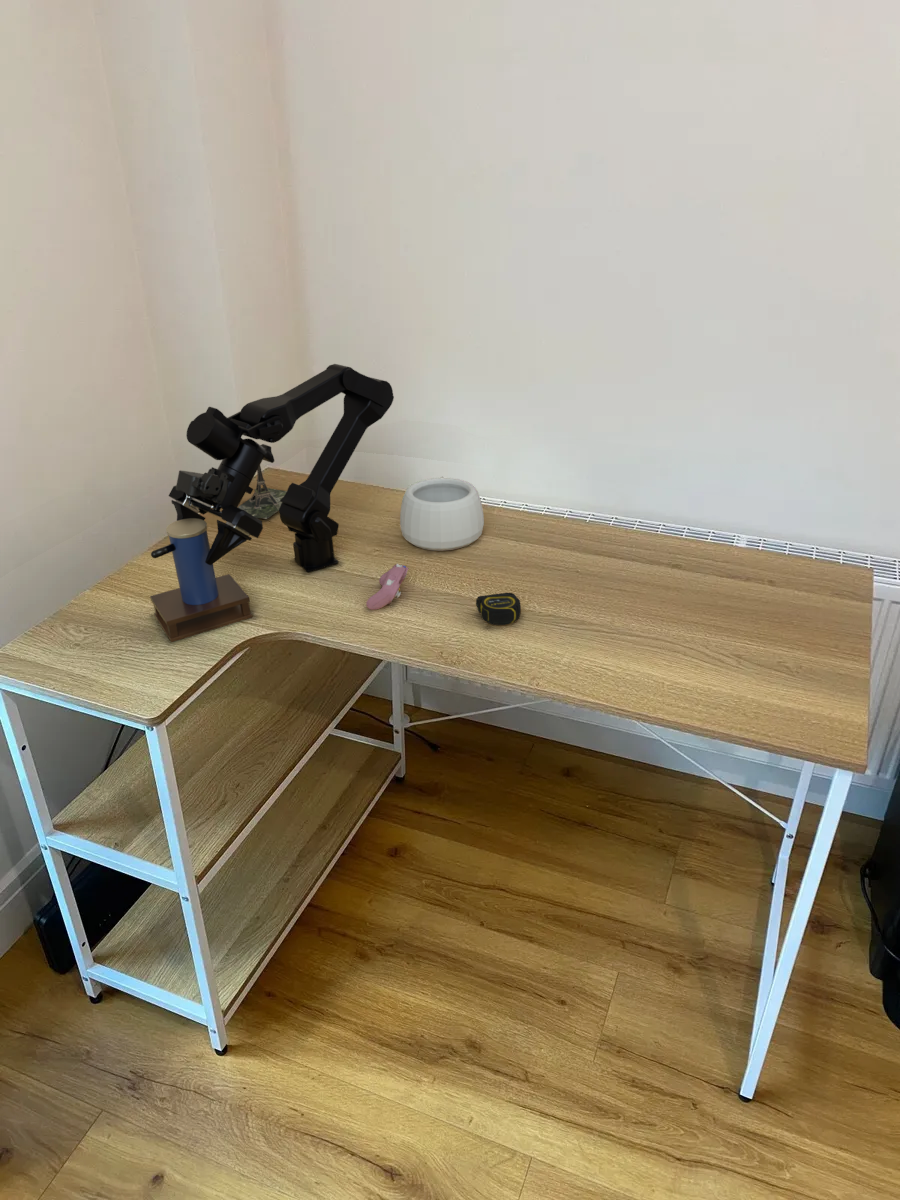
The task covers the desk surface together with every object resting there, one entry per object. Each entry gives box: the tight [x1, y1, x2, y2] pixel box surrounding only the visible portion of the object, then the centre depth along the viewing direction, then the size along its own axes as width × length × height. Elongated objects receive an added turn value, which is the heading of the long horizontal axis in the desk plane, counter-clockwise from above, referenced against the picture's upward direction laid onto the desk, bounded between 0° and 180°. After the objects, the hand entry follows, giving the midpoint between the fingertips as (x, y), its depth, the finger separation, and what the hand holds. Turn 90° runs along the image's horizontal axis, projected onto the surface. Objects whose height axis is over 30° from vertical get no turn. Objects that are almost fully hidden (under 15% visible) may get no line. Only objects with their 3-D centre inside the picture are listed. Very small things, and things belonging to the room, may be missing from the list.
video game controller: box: [365, 563, 409, 611], centre depth 150 cm, size 10×5×7 cm, turn 168°
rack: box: [149, 573, 253, 643], centre depth 146 cm, size 14×10×4 cm
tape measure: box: [475, 592, 522, 626], centre depth 143 cm, size 7×7×4 cm
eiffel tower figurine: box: [237, 465, 287, 520], centre depth 184 cm, size 15×10×13 cm
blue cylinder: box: [150, 518, 218, 605], centre depth 141 cm, size 10×6×13 cm, turn 139°
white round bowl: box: [399, 476, 485, 552], centre depth 172 cm, size 21×17×10 cm
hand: (191, 555), depth 141 cm, fingers open, 9 cm apart
